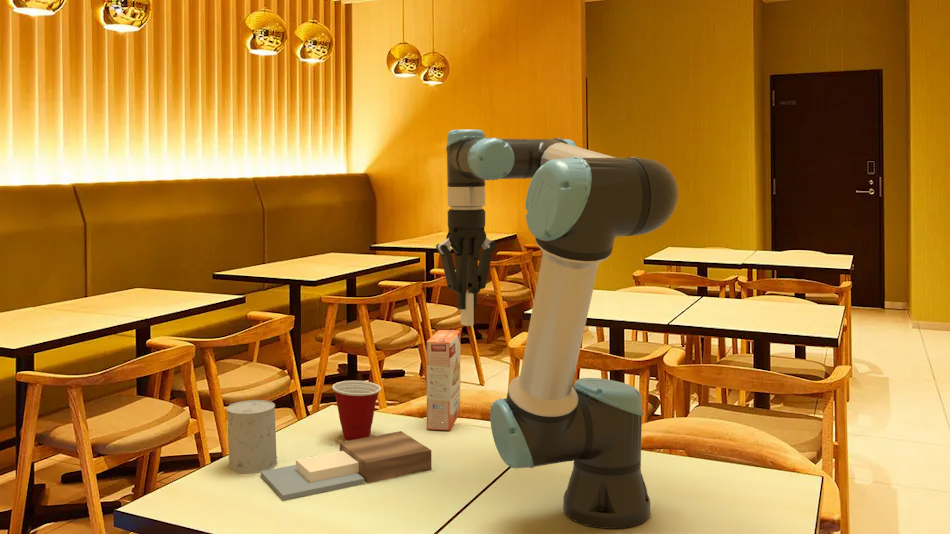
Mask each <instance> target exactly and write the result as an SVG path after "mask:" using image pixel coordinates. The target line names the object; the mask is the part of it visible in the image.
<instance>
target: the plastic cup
mask: <svg viewBox="0 0 950 534" xmlns="http://www.w3.org/2000/svg"><path fill="white" fill-rule="evenodd" d="M332 390H333V392H334V397H335V401H336V406H337V410H338V411H337V412H338V417H339V422H340V426H341V429H342V436H343V439H344V440H345V441H349V440H355V439H360V438H366V437H371V432H372V424H373V421H374V416H375V415H374V414H375V409H376V402H377V399H378V395H379V393H380V392H381V390H382V386H380V385H379V384H377V383H374V382H372V381H366V380H343V381H339V382H336V383H334V384H333V385H332Z"/></svg>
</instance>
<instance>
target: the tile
mask: <svg viewBox="0 0 950 534" xmlns="http://www.w3.org/2000/svg"><path fill="white" fill-rule="evenodd" d="M295 465H296V470H297V471H298V472H299V473H300V474H302V475H303V476H304V477H305V478H306V479H307V480H308V481H309V482H310V483H311V482H315V481H320V480H325V479H330V478H335V477H339V476H344V475H349V474H354V473H359V462H358V461H356V460H355V459H354V458H352V457H351V456H350V455H348V454H347V453H346V452H344V451H340V450H339V451H334V452H331V453H330V452H328V453H324V454H320V455H314V456H310V457H309V456H308V457H304V458H299V459H295Z"/></svg>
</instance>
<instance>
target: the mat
mask: <svg viewBox="0 0 950 534" xmlns="http://www.w3.org/2000/svg"><path fill="white" fill-rule="evenodd" d="M260 477H261V478H262V479H263V480H264V482H265V483H267V485H269V487H270V488H271V489H272V490H273V491H274V492H275V494H277V496H278V497H279V498H280V499H281V500H282V501H283V502H284V501H288V500H292V499H293V500H294V499H297V498H304V497H307V496H312V495H317V494H320V493H325V492H330V491H336V490H340V489H345V488H350V487H355V486H359V485H364V484H365V483H366V482H365V481H364V478H363V477H362V476H361V475H359V474H358V473H354V474H349V475H344V476H339V477H335V478H330V479H325V480H320V481H315V482H311V483H310V482H309V481H308V480H307V479H306V478H305V477H304V476H303V475H302V474H300V473H299V472H298V471H297V470H296V464H292V465H287V466H282V467H277V468H272V469H270V470H266V471H261V472H260Z"/></svg>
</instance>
